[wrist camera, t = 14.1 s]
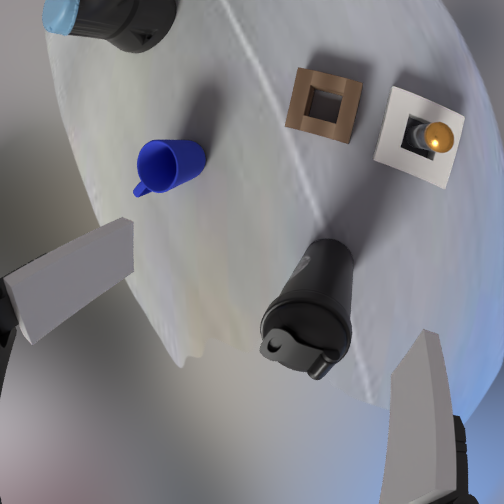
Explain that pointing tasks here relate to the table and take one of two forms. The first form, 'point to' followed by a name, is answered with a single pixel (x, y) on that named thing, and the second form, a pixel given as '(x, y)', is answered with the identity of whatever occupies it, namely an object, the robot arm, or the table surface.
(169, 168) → the mug
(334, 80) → the mount block
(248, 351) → the table surface
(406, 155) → the dock block
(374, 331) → the table surface
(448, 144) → the pin
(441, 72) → the table surface
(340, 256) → the water bottle
